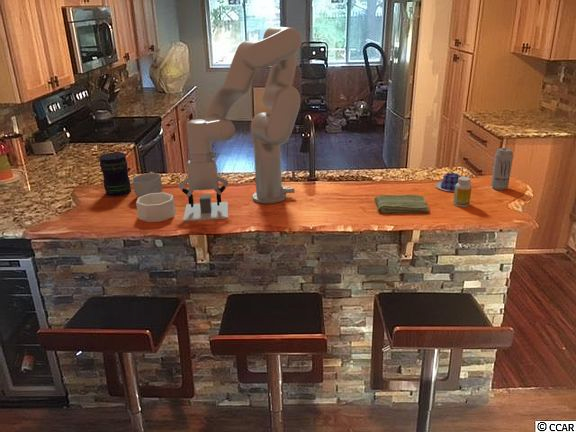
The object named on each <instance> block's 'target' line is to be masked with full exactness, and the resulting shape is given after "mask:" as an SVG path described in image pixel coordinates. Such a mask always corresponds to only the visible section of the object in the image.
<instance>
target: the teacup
mask: <svg viewBox="0 0 576 432" xmlns="http://www.w3.org/2000/svg"><path fill="white" fill-rule="evenodd" d="M130 182H131V183H132V188H133V191H134V193H135V195H136V196H137V198H138V197H141V196H144V195H147V194H150V193H163V192H162V191H163V184H162V183H163V182H162V175H161V174H160V173H157V172H153V171H150V172H148V173H143V174H138V175H136V176H134V177H133V178H131V180H130Z"/></svg>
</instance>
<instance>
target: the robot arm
mask: <svg viewBox="0 0 576 432" xmlns="http://www.w3.org/2000/svg"><path fill="white" fill-rule="evenodd" d="M301 45H302V37H301V34H300V32H299V31H298V30H297V29H295V28H294V27H288V26H272V27H269V28H267V29H266V30H265V31H264V34H263V38H262V39H261V40H257V41H255V40H245V41H243V42H241V43H240V44H239V45H238V47H237V48H236V51H235V52H234V55H233V58H232V60H231V62H230V63H231V64H230V66H229V68H228V71H227V74H226V76H225V79H224V82H223V84H222V85H221V86H220V87H219V89H218V90H217V92H216V93H215V95H214V96H213V97H212V99H211V101H210V103H209V105H208V107H207V110H206V113H205V115H204V119H201V118H198V119H192V120H189V121H188V122H187V123H186V135H187V143H188V153H189V154H188V155H189V160H188V161H187V178H185V179H183V180H182V181H181V182H179V183H178V185H177V186H178V187H179V189H180V190H181V192H183V194H185V196H187V199H188V204H191V207H193V205H194V204H195V203H194V195H193V192H194V191H212V190H214V192H216V202H217V205H218V206H219V202H222V193H223V192H224V191H225V190H226V188H227V187H228V185H229V180H227V179H225V178H223V177H222V176H220V175H219V174H218V167H217V163H216V160H215V159H214V158H217V152H214V151H213V150H212V149H213V148H212V142H227V141H229V140H231V139H233V137H234V136H235V133H236V127H235V125H234V123H233V122H232V120H229V119H227V117H228V114H229V112H230V110H231V109H232V107H233V106H234V104H235V103H236V102H238V101H239V100H242V99H243V98H244V97H245V96H247V95H248V94H249V91H250V89H251V86H252V83H253V81H254V79H255V75H256V73H257V71H258V70H260V71H261V70H264V69H267V68H269V67H270V71H269V73H268V78H267V81H266V84H265V87H264V90H263V93H262V103H263V105H264V106H265V107H266V108H268V109H270V110H271V112H266V111H265V112H264V111H263V112H258V113H257V114H256V115H254V117H253V118H252V120H251V122H250V133H251V139H252V144H253V152H254V153H253V154H254V171H255V189H256V191H255V192H254V193H253V194H252V196H251V197H252V201H254V202H256V203H259V204H265V205H267V204H278V203H280V202H283V201H285V200H286V199H287V194H294V193H295V191H296V190H295V187H291V186H284V185H283V182H282V150H281V146H282V145H283V144H285V143H287V142H288V140H289V139H290V137H291V135H292V132H293V131H294V127H295V123H296V120H297V117H298V114H299V112H300V108H301V95H300V92H299V90H298V89H297V88H296V87H295V86H293V83H294V77H295V76H296V75H295V74H296V69H297V67H296V66H297V63H296V57H295V54H296V53H297V52H298V51H299V49H300V48H301ZM219 182H220V183H222V185H221V186H220V187H219ZM187 184H188V185H187ZM185 185H187V186H188V188H186V187H185Z"/></svg>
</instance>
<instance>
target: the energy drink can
mask: <svg viewBox="0 0 576 432" xmlns="http://www.w3.org/2000/svg"><path fill="white" fill-rule="evenodd" d="M513 158H514V153H513V150H512V149H511V148H507V147H500V148H497V151H496V152H495V154H494V163H493V167H492V168H493V169H492V176H491V187H492V189H493V190H495V191H506V190H507V188H509V183H510V178H511V170H512V166H513Z"/></svg>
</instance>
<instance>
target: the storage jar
mask: <svg viewBox="0 0 576 432" xmlns="http://www.w3.org/2000/svg"><path fill="white" fill-rule="evenodd" d="M98 159H99V164H100V170H101V172H102V178H103V187H104V190H105V195H106V196H107V197H111V198H112V197H113V198H117V196H118V197H123V196H124V197H125V196H127V195H129V194H130V193H132V186H131V180H130V177H129V172H128V168H129V167H128V161H127V155H126V153H125V152H119V151H116V152H107V153H104V154H101V155H99V156H98Z"/></svg>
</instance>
